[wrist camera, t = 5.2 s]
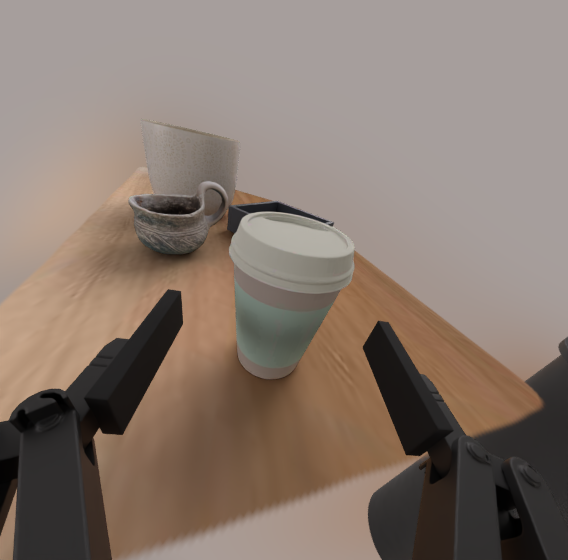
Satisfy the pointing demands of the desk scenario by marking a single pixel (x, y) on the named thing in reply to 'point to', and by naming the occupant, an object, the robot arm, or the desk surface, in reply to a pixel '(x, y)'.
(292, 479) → the desk surface
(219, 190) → the mug
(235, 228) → the bin
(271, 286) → the coffee cup
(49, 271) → the desk surface
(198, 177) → the planter
